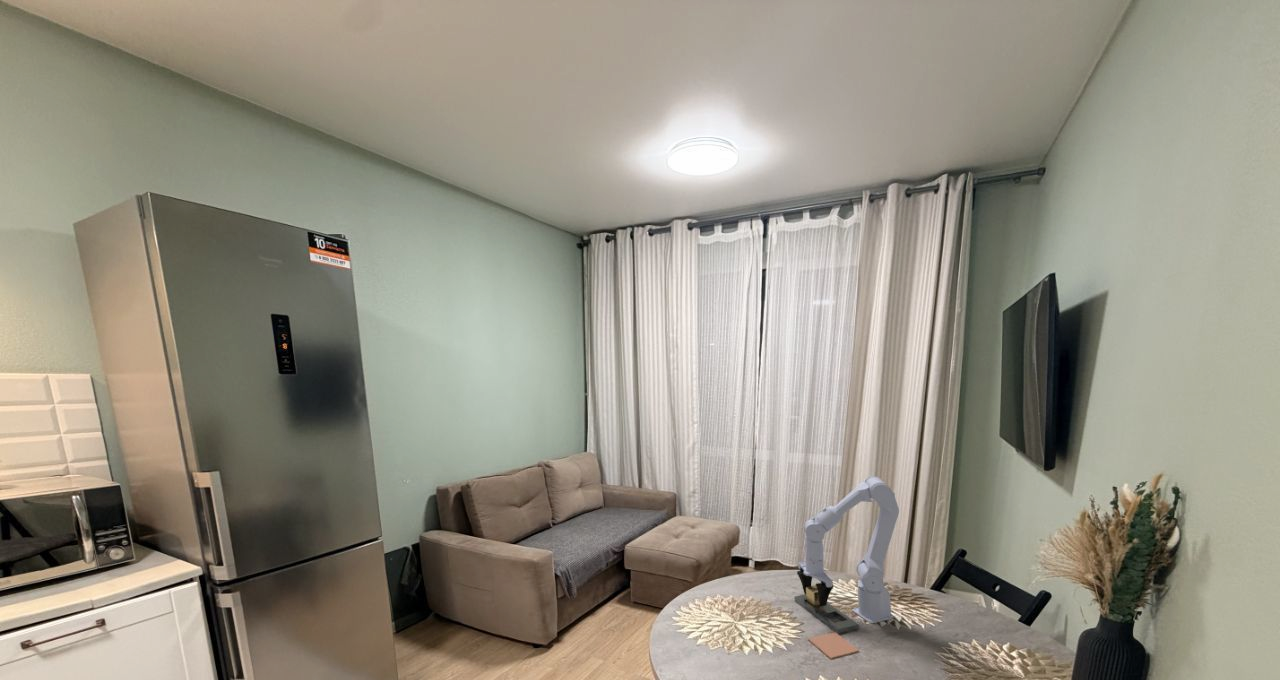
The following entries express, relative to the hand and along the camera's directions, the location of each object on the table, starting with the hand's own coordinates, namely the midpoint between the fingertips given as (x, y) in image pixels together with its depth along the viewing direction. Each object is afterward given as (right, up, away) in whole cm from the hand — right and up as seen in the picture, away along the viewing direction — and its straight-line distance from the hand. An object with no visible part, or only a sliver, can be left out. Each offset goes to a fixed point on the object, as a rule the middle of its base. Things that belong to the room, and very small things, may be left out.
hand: (815, 599), depth 149 cm
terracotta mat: (-3, -1, -21) cm, 21 cm away
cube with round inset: (0, -3, 0) cm, 3 cm away
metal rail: (+1, -2, -4) cm, 5 cm away
